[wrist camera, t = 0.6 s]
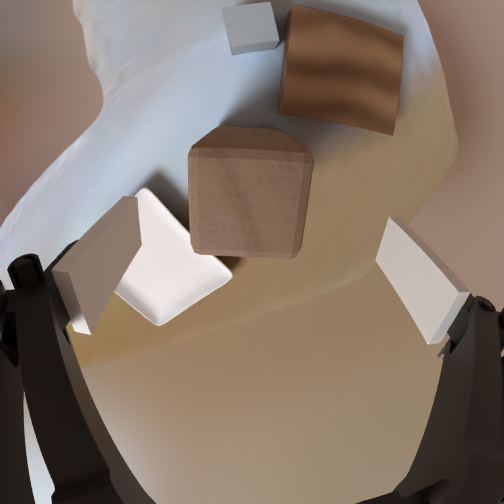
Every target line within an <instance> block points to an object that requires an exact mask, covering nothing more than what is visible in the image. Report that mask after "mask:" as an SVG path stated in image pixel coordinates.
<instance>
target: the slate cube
mask: <svg viewBox="0 0 504 504" xmlns="http://www.w3.org/2000/svg"><path fill="white" fill-rule="evenodd" d="M222 13H223V17H224V22H225V26H226V31H227V36H228V40H229V45H230V49H231V53H232V56H233V55H238V54H244V53H250V52H257V51H265V50H273V49H275V48H276V46H277V44H278V42H279V36H278V32H277V27H276V23H275V19H274V14H273V10H272V6H271V2H262V3H253V4H245V5H239V6H232V7H227V8H222Z"/></svg>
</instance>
